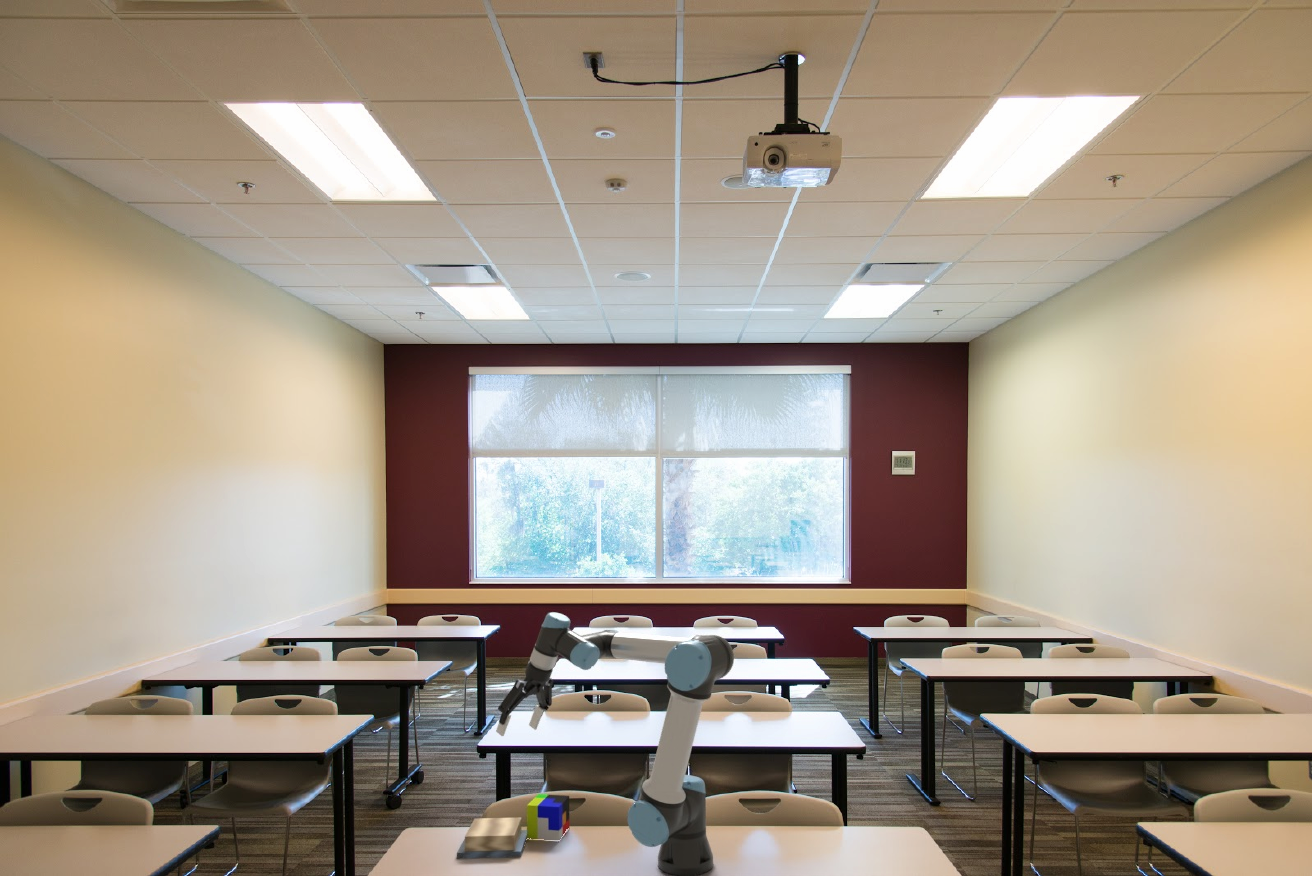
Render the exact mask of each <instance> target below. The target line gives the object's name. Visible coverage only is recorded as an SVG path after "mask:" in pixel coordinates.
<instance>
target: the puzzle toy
mask: <svg viewBox="0 0 1312 876" xmlns="http://www.w3.org/2000/svg"><path fill="white" fill-rule="evenodd" d="M568 828H569V829H570V795H563V794H562V795H560V794H545V793H544V794H543V793H538V794H537V795H536V796H535V797H534V798H533V799H532V800H531V801H530V802H529V803H528V804H527V805H526V830H527V838H529V839H530V838H531V839H544V840H560V839H561V837H562V836H563V834H564V833H565V831H566V829H568ZM561 840H562V839H561Z"/></svg>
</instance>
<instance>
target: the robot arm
mask: <svg viewBox="0 0 1312 876" xmlns="http://www.w3.org/2000/svg"><path fill="white" fill-rule="evenodd" d="M570 627H571V620H570V618H569V617H568V616H567V615H564V614H563V613H559V612H554V611H552V612H547V614H546V615H545V617H544V621H543V622H542V624H541V627H540V630H539V633H538V636H537V640H536V642H535V644H534V646H533V650H532V652H531V654H530V657H529V661H528V663H527V665H526V668H525V671H524V673H525V678H524V679H523V680H520V679H516V680H515V682H514V684H513V686H512V688H511V689H510V690H509V692H508V694H507V695H506V696H505V697H504V699H503V700H502V702H501V703H500V704H499V706H498V707H497V710H498V711H499V712H501V714H500V716H499V717H500V718H499V719H498V725H497V727H496V731H495V732H496V733H497V734H498V735H500V736H501V737H504V736H505V734H506V731H507V729H508V728H507V727H508V726H509V723H510V720H511V719H512V718H511V717H512V715H511V713H512V712H513V711H514V710H515V709H516V708H517V707H518V706H519V704H521V702H523V701H524V699H527V698H528V697H529V696H532V695H535V696H536V699H537V703H538V704H536V705H535V707H534V711H533V713H532V716H531V718H530V720H529V724H528V726H529V727H530V728H532V729H533V730H535V731H536V730H538V729H537V728H538V726H539V724H540V721H541V719H542V717H543V715H544V711H548V710H549V708H550V707H551V706H552V703H553V684H554V678H552V677H551V676H552V674H553V669H554V668H555V666H556V664H557V661H558V657H559V655H560V656H561V657H563V658H564V659H565V660H566V661H568V662H569V663H571V664H572V665H574V666H575V667H577V668H580V669H581V670H583V671H588V670H590V669H592V667H594V666H595V665H596V664H597V662H598V661H599V660H600V659H604V658H606V659H619V660H627V661H628V660H629V661H637V662H638V661H639V662H646V663H647V662H648V663H656V664H664V672H665V675H666V679H667V684H666V687H667V689H668V691H669V692H670V698H669V701H668V705H667V709H666V713H665V717H664V721H663V726H662V729H661V732H660V738H659V741H658V745H657V748H656V749H657V750H656V753H655V758H654V762H653V766H652V769H651V774H650V777H649V778H648V779H645V780H644V781H643V783H642V786H641V789H640V792H639V793H640V794H639V797H638V800H636V801H634V802H633V803H632V805H631V806H630V807H629V808H628V811H627V824H628V825H627V826H628V828H629V830H630V831H631V834H632V835H633V838H634V839H635V840H636V841H637V842H638V843H640V844H641V845H643V846H645V847H648V848H654V847H658V846H659V850H658V851H659V852H658V855H657V866H658V868H659V870H661V871H662V872H664V873H666V874H669V875H674V876H698V875H702V874H706V873H707V872H709V871H710V870H711V869H712V868H713V867H714V854H713V852H712V849H711V846H710V843H709V839H708V836H707V815H706V813H707V812H706V811H707V810H706V809H707V807H706V806H707V805H706V803H707V801H706V798H707V795H706V794H707V792H706V784H705V781H704V780H703V779H702V778H701V777H699V776H695V775H692V774H691V775H690V774H686V772H687V770H688V769H687V768H688V765H689V760H690V757H691V753H692V748H693V745H694V740H695V737H696V733H697V729H698V724H699V722H700V721H699V720H700V717H701V712H702V708H703V704H704V702H706V701H708V700H710V699H711V697H712V693H713V689H714V685H715V682H716V681H718V680H720V679H723V678H724V677H726V676H727V675H728V674H729V673H730V672H731V670H732V668H733V666H734V660H735V654H734V650H733V648H732V646H731V644H730V643H729V641H727V640H726V638H724V637H722V636H720V635H716V634H709V635H708V634H706V635H704V634H703V635H701V634H694V635H692V636H691V637H681V636H680V637H678V636H667V635H655V634H654V635H653V634H643V633H640V634H639V633H631V632H619V631H618V630H615V629H606V630H605V629H604V630H602V631H598V632H594V633H587V634H583V635H580V634H579V633H577V632H575V631H573V630H572V629H570Z"/></svg>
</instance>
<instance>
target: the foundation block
mask: <svg viewBox="0 0 1312 876" xmlns="http://www.w3.org/2000/svg"><path fill="white" fill-rule="evenodd" d="M526 839H527V829H522V817H486V818H485V817H482V818H481V817H480V818H474V819H473V821H472V822H471V825H470V827H469V828H468V830H467V832H466V834H465V835H464V838H463V840H462V843H461V845H460V846H459V848H458V850H457V852H456V860H458V859H493V858H494V859H495V858H497V859H499V858H521V857H522V856H523V852H524V850H523V848H524V849H525V847H524V845H525V846H526V844H525V842H526V843H527V841H526Z"/></svg>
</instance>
